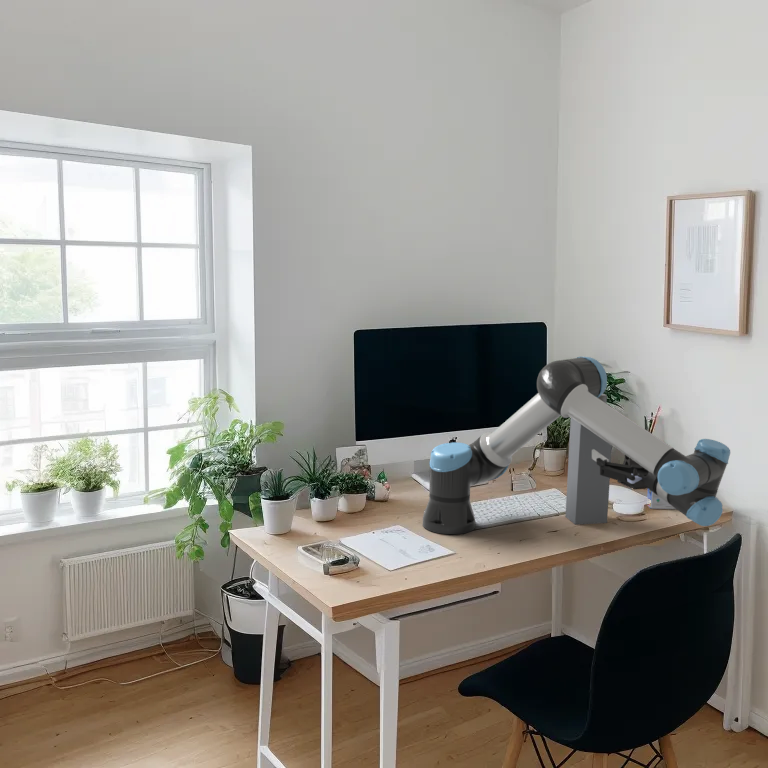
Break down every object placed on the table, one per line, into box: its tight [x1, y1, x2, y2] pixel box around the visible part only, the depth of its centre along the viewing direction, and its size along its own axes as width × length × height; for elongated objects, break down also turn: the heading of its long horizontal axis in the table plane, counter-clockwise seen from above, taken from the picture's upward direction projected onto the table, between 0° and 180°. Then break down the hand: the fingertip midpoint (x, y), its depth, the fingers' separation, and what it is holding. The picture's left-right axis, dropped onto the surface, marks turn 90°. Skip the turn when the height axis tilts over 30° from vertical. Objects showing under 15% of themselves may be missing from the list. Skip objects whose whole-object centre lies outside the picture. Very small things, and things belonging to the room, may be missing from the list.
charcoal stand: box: [565, 417, 613, 525], centre depth 230 cm, size 10×7×32 cm
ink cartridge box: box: [646, 488, 677, 510], centre depth 245 cm, size 10×6×14 cm, turn 89°
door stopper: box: [616, 454, 648, 490], centre depth 269 cm, size 9×6×12 cm, turn 19°
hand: (613, 446), depth 213 cm, fingers open, 13 cm apart
